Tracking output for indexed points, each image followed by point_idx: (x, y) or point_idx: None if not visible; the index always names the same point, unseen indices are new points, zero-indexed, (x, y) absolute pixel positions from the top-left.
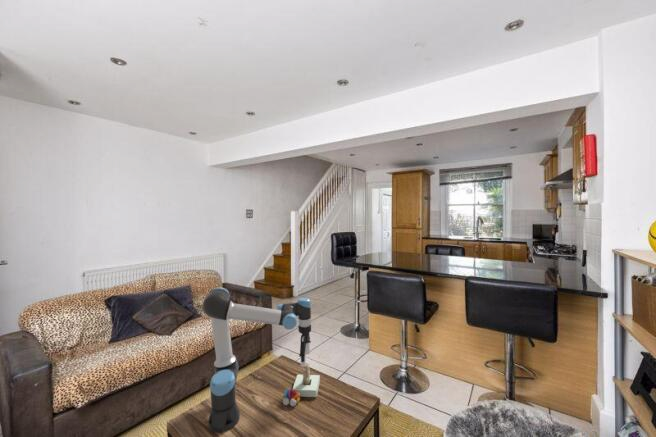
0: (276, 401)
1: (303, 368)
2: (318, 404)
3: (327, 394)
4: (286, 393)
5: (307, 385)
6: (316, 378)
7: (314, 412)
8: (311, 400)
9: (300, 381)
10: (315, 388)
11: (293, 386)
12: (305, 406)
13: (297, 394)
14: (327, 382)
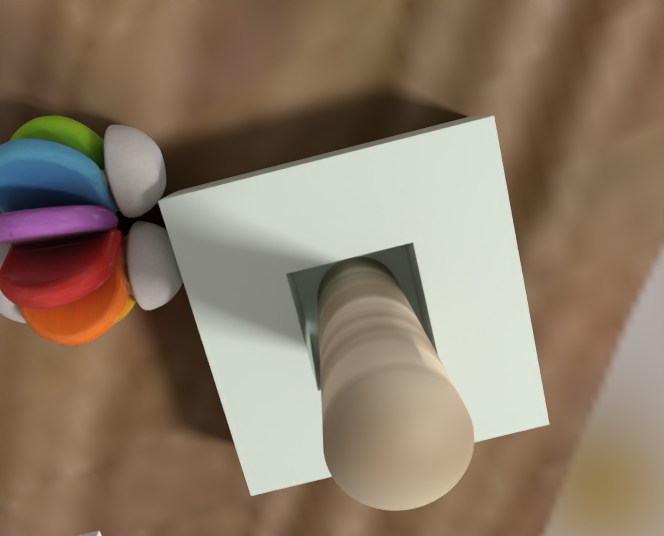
0: (21, 38)
1: (329, 392)
2: (167, 504)
3: (336, 533)
4: (13, 180)
5: (303, 358)
6: (473, 410)
7: (52, 508)
8: (194, 419)
9: (351, 234)
10: (280, 473)
11: (219, 187)
12: (89, 397)
13: (58, 334)
14: (524, 469)
